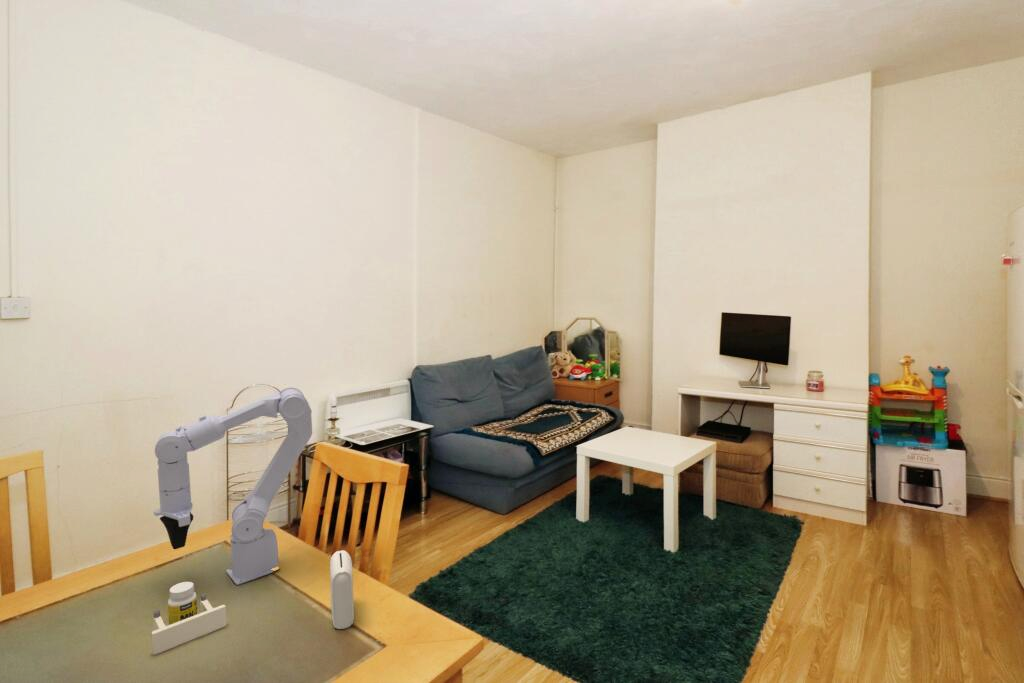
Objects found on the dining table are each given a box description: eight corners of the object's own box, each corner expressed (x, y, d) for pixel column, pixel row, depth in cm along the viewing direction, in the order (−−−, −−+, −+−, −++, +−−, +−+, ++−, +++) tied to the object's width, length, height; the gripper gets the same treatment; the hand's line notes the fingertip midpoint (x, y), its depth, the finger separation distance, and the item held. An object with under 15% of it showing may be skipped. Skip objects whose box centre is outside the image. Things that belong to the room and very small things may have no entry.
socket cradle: (214, 608, 109) (213, 589, 109) (226, 625, 104) (225, 606, 103) (145, 634, 101) (143, 614, 101) (154, 655, 95) (152, 634, 95)
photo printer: (330, 602, 111) (328, 546, 110) (352, 598, 113) (350, 543, 112) (332, 632, 102) (329, 571, 101) (355, 627, 103) (353, 567, 102)
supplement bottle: (181, 638, 100) (179, 596, 99) (163, 633, 102) (160, 591, 101) (203, 623, 105) (201, 582, 104) (185, 618, 106) (183, 578, 105)
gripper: (145, 483, 117) (149, 541, 118) (160, 501, 107) (164, 565, 108) (182, 475, 122) (185, 531, 123) (199, 492, 112) (203, 553, 113)
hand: (178, 547), depth 116 cm, fingers closed
